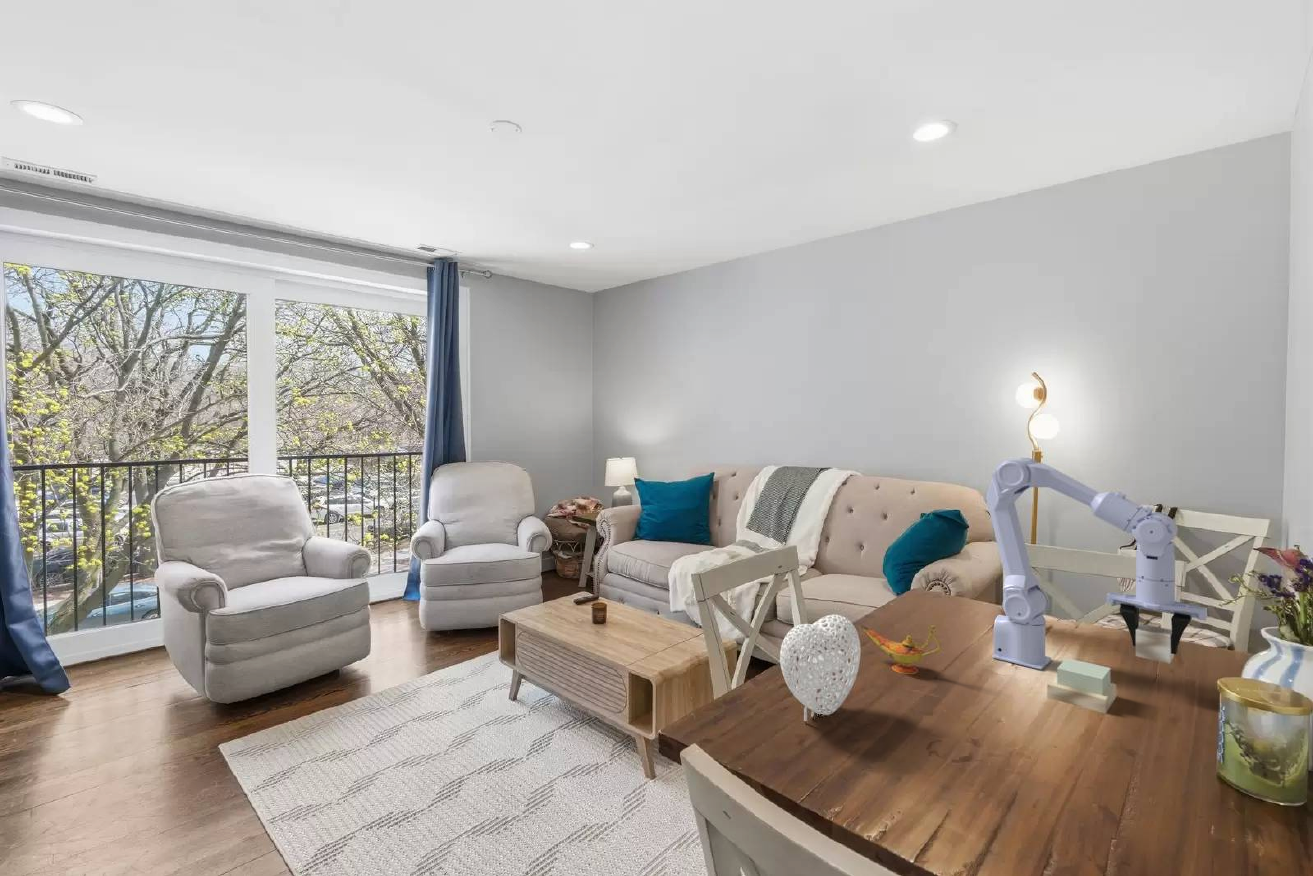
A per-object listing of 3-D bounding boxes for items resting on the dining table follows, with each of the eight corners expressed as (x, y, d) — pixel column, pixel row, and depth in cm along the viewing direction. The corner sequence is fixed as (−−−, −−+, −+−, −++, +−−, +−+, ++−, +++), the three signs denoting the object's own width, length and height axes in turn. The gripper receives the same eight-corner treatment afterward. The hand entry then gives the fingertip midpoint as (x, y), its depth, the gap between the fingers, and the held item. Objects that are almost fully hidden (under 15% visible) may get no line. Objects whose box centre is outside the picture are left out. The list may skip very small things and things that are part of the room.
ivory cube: (1135, 656, 114) (1135, 630, 114) (1140, 649, 118) (1140, 624, 117) (1169, 663, 111) (1170, 636, 110) (1173, 656, 114) (1174, 630, 114)
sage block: (1057, 683, 114) (1057, 668, 114) (1066, 673, 118) (1066, 658, 118) (1102, 695, 109) (1102, 679, 108) (1110, 683, 113) (1110, 668, 113)
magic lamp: (866, 651, 138) (866, 603, 137) (947, 675, 124) (947, 622, 124) (850, 659, 133) (850, 610, 133) (932, 685, 119) (932, 630, 119)
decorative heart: (827, 690, 118) (826, 604, 117) (876, 710, 109) (875, 617, 109) (765, 718, 107) (764, 623, 106) (814, 743, 98) (813, 640, 98)
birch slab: (1047, 700, 114) (1047, 684, 113) (1060, 685, 120) (1060, 670, 120) (1105, 716, 107) (1105, 699, 107) (1116, 700, 113) (1116, 684, 113)
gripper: (1103, 574, 116) (1103, 644, 117) (1204, 589, 106) (1203, 665, 106) (1111, 568, 121) (1111, 635, 121) (1208, 581, 110) (1208, 654, 111)
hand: (1154, 648), depth 114 cm, fingers closed on ivory cube, 5 cm apart
